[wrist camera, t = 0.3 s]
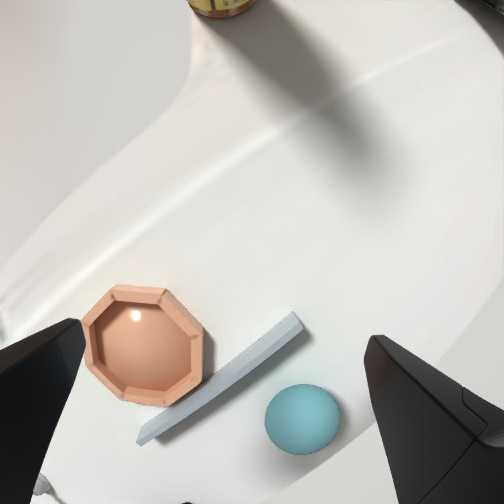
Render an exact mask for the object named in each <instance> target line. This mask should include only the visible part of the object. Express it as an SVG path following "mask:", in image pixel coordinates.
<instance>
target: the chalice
mask: <svg viewBox="0 0 504 504" xmlns="http://www.w3.org/2000/svg"><path fill="white" fill-rule="evenodd" d="M49 490H51V484H50V483H49V481H48V480H47V479H46V478H45V477H44V476H43V475H42V474H41V473H40V472H39V475H38V478H37V482H36V485H35V488H34V490H33V495H42V494H43V493H45V492H46V491H49Z"/></svg>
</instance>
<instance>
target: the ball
mask: <svg viewBox="0 0 504 504" xmlns="http://www.w3.org/2000/svg"><path fill="white" fill-rule="evenodd" d="M339 423H340V413H339V409H338V406H337V403H336V402H335V400H334V398H333V397H332V396H331V395H330V394H329V393H328V392H326V391H325V390H323V389H322V388H320V387H317V386H314V385H309V384H300V385H294V386H291V387H288V388H286V389H284V390H282V391H281V392H279V393H278V394H277V395H276V396H275V397H274V398H273V399H272V401H271V402H270V404H269V406H268V408H267V411H266V415H265V427H266V431H267V434H268V436H269V438H270V439H271V441H272V442H273V443H274V444H275V445H276V446H277V447H278V448H280V449H281V450H283V451H285V452H288V453H291V454H296V455H306V454H311V453H314V452H317V451H319V450H321V449H323V448H324V447H325V446H327V445H328V444H329V443H330V442H331V441H332V439H333V438H334V436H335V435H336V433H337V430H338V428H339Z"/></svg>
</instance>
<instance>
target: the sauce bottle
mask: <svg viewBox="0 0 504 504" xmlns="http://www.w3.org/2000/svg"><path fill="white" fill-rule="evenodd" d="M187 1H188V3H189V5H190V7H191V8H192V9H193V10H194V11H195V12H197V13H199V14H201V15H205V16H208V17H213V18H228V17H231V16H234V15H237V14H240V13H243V12H244V11H246V10H248V9H249V8H250V7H251V6H252V4H253V3H254V2H255V0H187Z"/></svg>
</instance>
